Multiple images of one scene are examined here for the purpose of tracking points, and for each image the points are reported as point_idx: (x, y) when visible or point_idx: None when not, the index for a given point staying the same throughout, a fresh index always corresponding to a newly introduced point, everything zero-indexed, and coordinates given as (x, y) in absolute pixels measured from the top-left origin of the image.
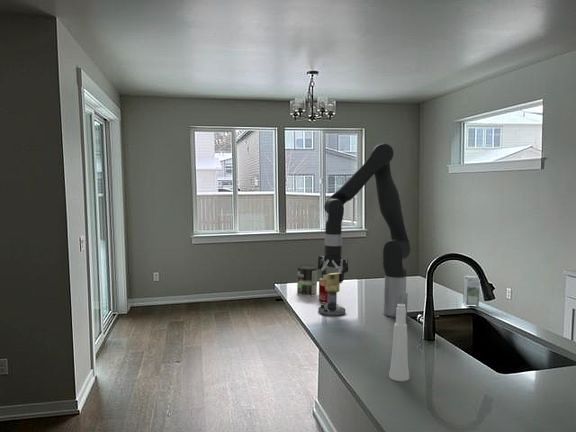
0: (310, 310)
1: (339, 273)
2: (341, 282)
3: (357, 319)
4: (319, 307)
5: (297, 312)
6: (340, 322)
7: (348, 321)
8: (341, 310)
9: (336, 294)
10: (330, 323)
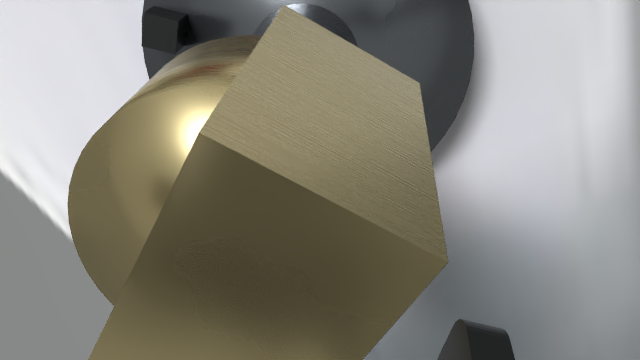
0: (76, 72)
1: (354, 343)
2: (414, 95)
3: (629, 176)
4: (148, 57)
5: (21, 185)
6: (477, 302)
7: (543, 258)
8: (430, 69)
9: None
10: (405, 345)
